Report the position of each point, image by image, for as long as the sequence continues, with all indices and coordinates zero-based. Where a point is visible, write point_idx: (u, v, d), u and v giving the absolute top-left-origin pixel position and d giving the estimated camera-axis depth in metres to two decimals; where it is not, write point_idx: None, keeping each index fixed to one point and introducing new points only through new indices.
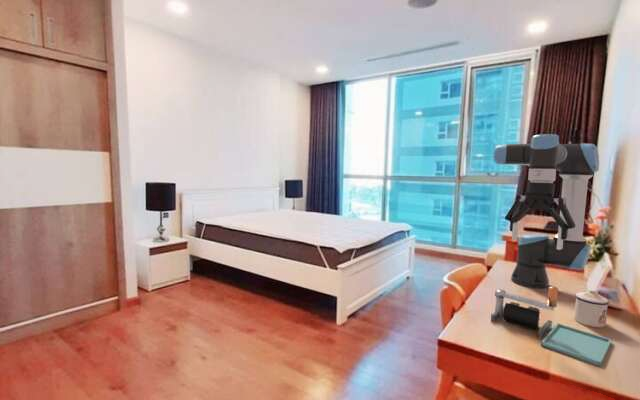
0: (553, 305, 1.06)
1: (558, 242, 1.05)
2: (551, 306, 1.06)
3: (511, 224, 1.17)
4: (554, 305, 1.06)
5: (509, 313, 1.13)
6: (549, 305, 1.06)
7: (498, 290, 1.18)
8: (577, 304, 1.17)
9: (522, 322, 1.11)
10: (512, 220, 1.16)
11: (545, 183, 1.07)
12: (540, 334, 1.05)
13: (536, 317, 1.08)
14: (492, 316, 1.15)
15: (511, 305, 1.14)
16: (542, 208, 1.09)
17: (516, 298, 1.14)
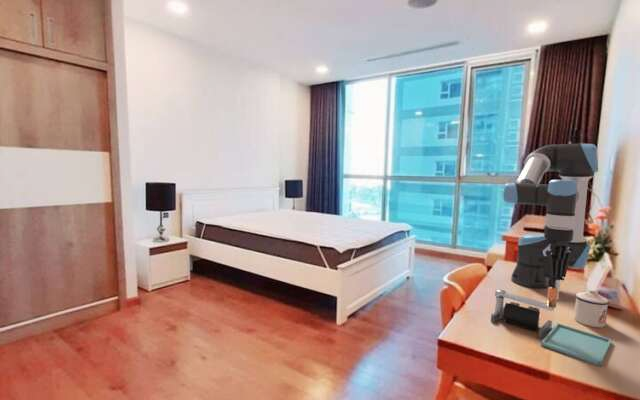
0: (553, 305, 1.05)
1: None
2: (551, 307, 1.06)
3: None
4: (554, 305, 1.05)
5: (509, 313, 1.13)
6: (549, 305, 1.06)
7: (497, 290, 1.18)
8: (577, 304, 1.17)
9: (522, 322, 1.11)
10: None
11: (546, 227, 1.08)
12: (540, 334, 1.05)
13: (536, 317, 1.08)
14: (492, 316, 1.15)
15: (511, 305, 1.14)
16: None
17: (516, 298, 1.13)
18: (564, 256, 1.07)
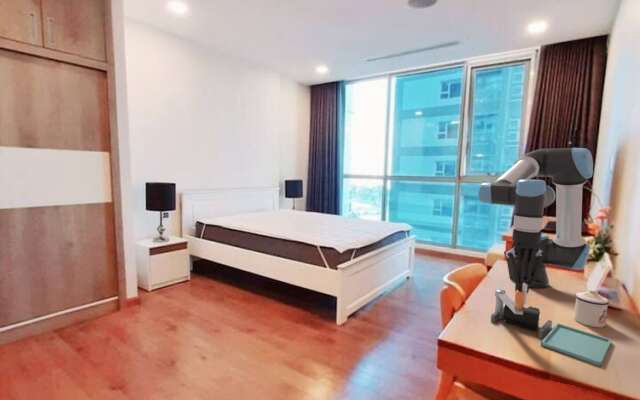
0: (516, 308, 1.03)
1: None
2: (514, 309, 1.03)
3: None
4: (517, 309, 1.02)
5: (509, 313, 1.13)
6: (514, 308, 1.04)
7: (497, 290, 1.19)
8: (577, 304, 1.17)
9: (522, 322, 1.11)
10: None
11: (514, 229, 1.05)
12: (540, 334, 1.05)
13: (536, 317, 1.08)
14: (492, 316, 1.15)
15: None
16: None
17: (502, 298, 1.13)
18: (532, 259, 1.02)
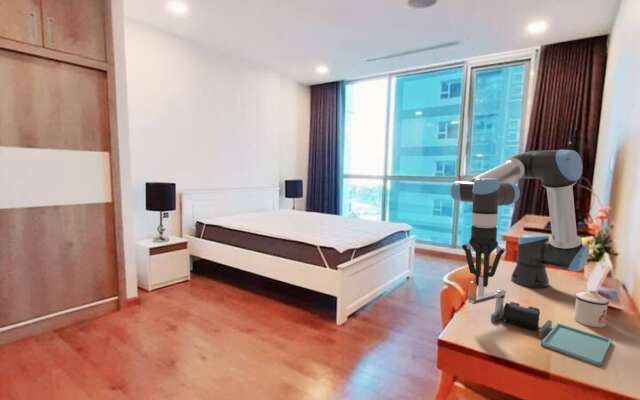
0: (468, 297, 1.11)
1: None
2: None
3: None
4: (468, 297, 1.11)
5: (509, 313, 1.13)
6: None
7: (499, 289, 1.19)
8: (577, 304, 1.17)
9: (522, 322, 1.11)
10: None
11: None
12: (540, 334, 1.05)
13: (536, 317, 1.08)
14: (492, 316, 1.15)
15: (511, 305, 1.14)
16: None
17: None
18: (485, 254, 1.07)
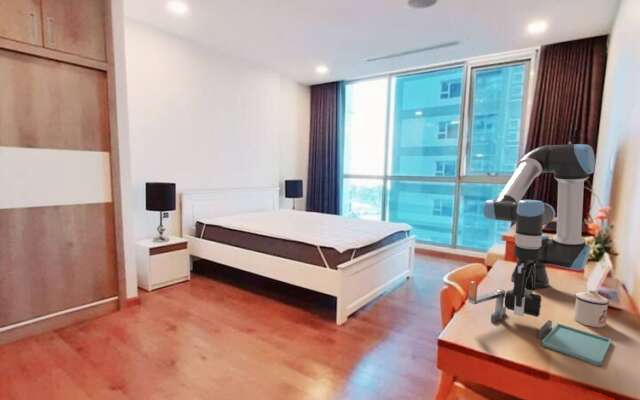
0: None
1: None
2: None
3: None
4: None
5: (511, 300, 1.13)
6: None
7: (499, 289, 1.19)
8: (577, 304, 1.17)
9: None
10: None
11: (516, 246, 1.12)
12: (540, 334, 1.05)
13: (537, 304, 1.08)
14: (492, 316, 1.15)
15: (512, 292, 1.14)
16: None
17: None
18: (533, 271, 1.12)
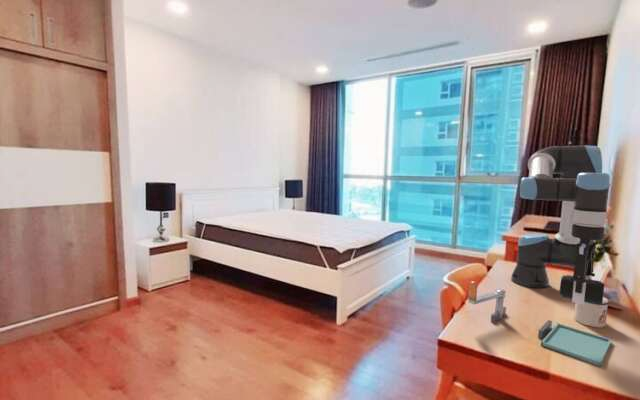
0: None
1: None
2: None
3: None
4: None
5: (568, 287, 0.99)
6: None
7: (499, 289, 1.19)
8: (577, 304, 1.17)
9: None
10: None
11: (575, 225, 0.99)
12: (540, 334, 1.05)
13: (601, 290, 0.95)
14: (492, 316, 1.15)
15: (569, 277, 1.01)
16: None
17: None
18: None
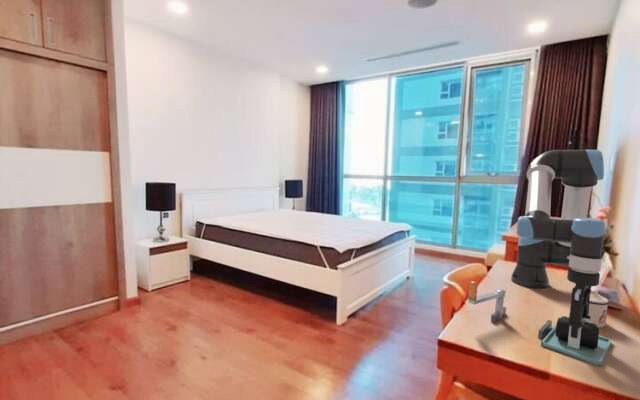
0: None
1: None
2: None
3: None
4: None
5: (564, 330, 1.01)
6: None
7: (499, 289, 1.19)
8: None
9: None
10: None
11: (571, 270, 1.00)
12: (540, 334, 1.05)
13: (596, 335, 0.96)
14: (492, 316, 1.15)
15: (565, 320, 1.02)
16: None
17: None
18: (589, 298, 1.01)
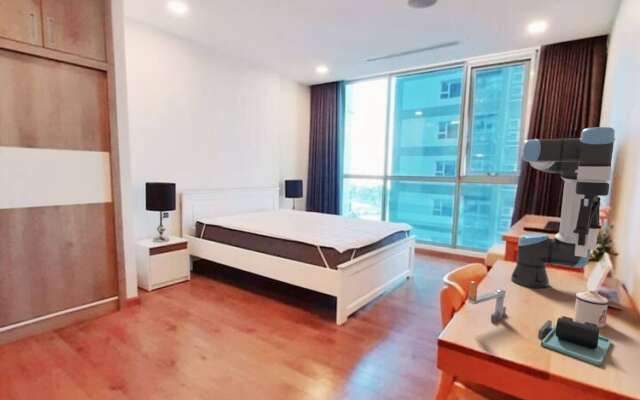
0: None
1: None
2: None
3: None
4: None
5: (564, 330, 1.01)
6: None
7: (499, 289, 1.19)
8: (577, 304, 1.17)
9: (579, 340, 0.99)
10: None
11: (579, 182, 0.97)
12: (540, 334, 1.05)
13: (596, 335, 0.96)
14: (492, 316, 1.15)
15: (565, 320, 1.02)
16: None
17: None
18: (599, 210, 0.99)
